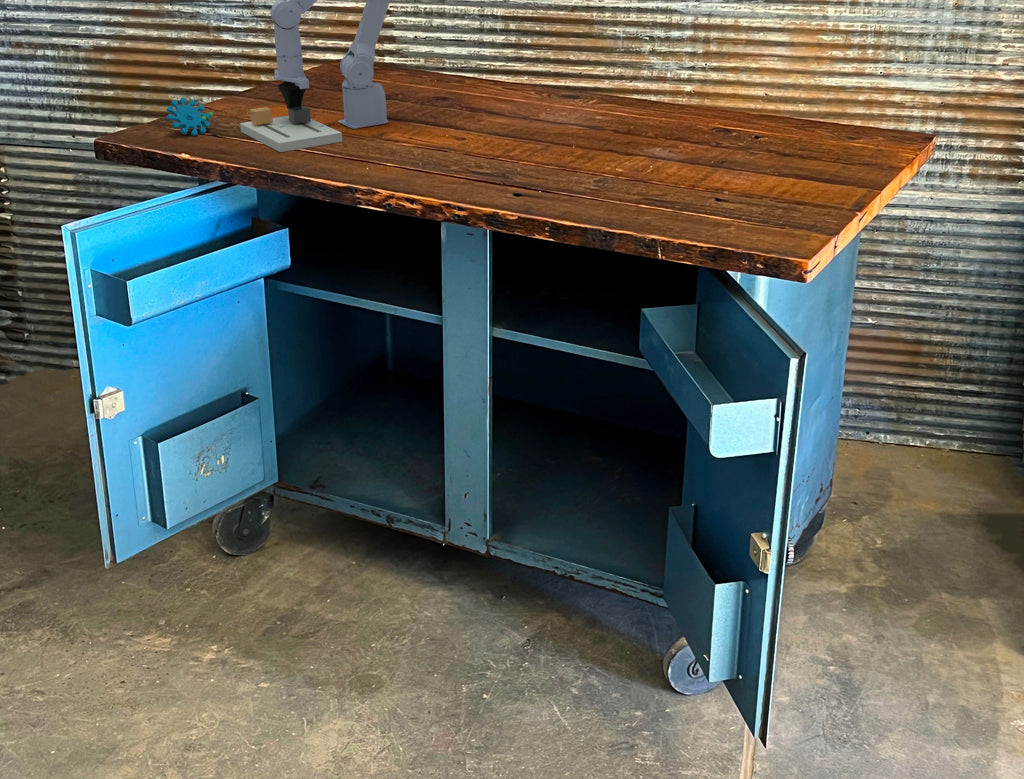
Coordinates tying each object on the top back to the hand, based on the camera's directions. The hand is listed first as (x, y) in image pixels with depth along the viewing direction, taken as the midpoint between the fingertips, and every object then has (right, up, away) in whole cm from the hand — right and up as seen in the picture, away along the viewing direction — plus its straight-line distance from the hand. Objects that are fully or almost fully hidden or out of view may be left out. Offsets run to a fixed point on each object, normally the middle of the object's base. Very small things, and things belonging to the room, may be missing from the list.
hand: (294, 114), depth 285 cm
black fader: (+2, -2, -2) cm, 3 cm away
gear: (-24, -4, +1) cm, 24 cm away
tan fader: (-7, -2, -2) cm, 8 cm away
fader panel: (0, -6, -4) cm, 7 cm away
